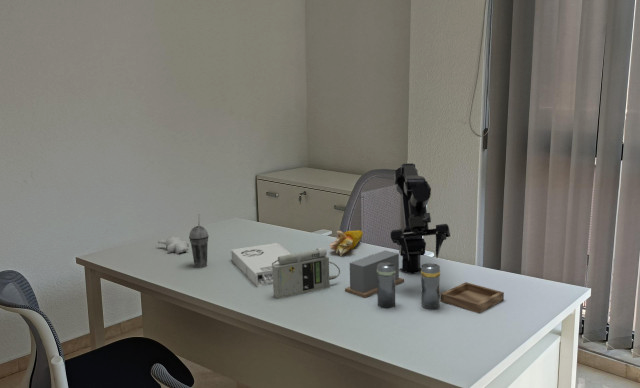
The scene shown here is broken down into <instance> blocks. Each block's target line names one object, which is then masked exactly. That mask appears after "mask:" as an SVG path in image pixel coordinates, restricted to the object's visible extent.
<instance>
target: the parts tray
mask: <svg viewBox="0 0 640 388" xmlns="http://www.w3.org/2000/svg"><path fill="white" fill-rule="evenodd" d="M504 296H505V292H504V291H501V290H496V289H493V288H489V287H486V286H481V285H477V284H474V283H471V282H467V281H465V282H463V283H461V284H458V285H457V286H454V287H452V288H450V289H447V290H446V291H443V292H442V293H440V300H439V303H440V302H441V303H444V304H447V305H451V306H454V307H457V308H460V309H464V310H467V311H470V312H474V313H476V314H477V313H478V314H480V313H482V312H483V311H486V310H488V309H490V308H491V306H492V307H493V306H495V305H497V304H499V303H501V302H503V301H504V300H505V299H504Z"/></svg>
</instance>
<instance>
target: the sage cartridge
mask: <svg viewBox="0 0 640 388" xmlns="http://www.w3.org/2000/svg"><path fill="white" fill-rule="evenodd" d="M395 274H396V269H395V264H393V263H387V262H385V263H379V264H378V265H377V289H378V293H377V306H378V308H382V309H392V308H394V307H395V306H396V285H395Z"/></svg>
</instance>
